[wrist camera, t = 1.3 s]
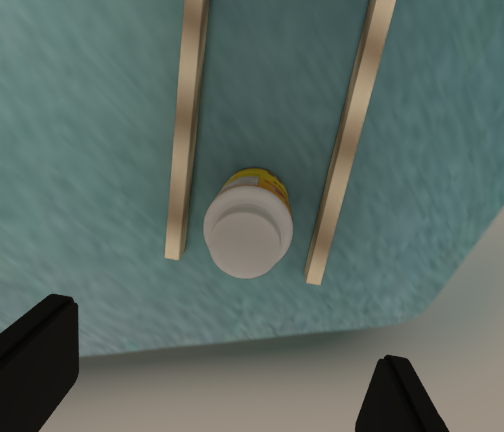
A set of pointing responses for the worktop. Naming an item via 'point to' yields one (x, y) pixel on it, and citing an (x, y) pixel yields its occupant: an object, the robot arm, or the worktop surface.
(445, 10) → the worktop surface
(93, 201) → the worktop surface
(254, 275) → the supplement bottle
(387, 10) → the wooden frame
